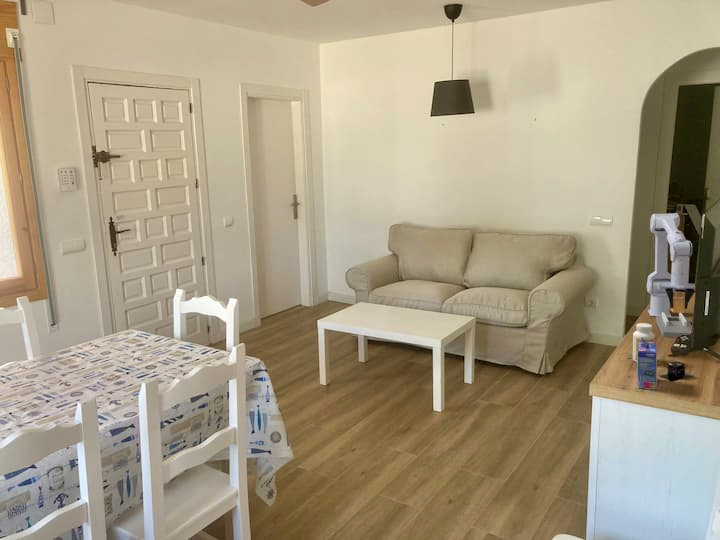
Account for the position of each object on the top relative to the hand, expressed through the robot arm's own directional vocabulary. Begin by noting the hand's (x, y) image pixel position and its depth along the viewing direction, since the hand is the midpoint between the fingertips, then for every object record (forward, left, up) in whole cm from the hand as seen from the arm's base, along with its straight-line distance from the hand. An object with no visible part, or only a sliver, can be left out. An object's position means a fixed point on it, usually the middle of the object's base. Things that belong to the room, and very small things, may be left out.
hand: (678, 307), depth 218 cm
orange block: (-1, 0, -2) cm, 2 cm away
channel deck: (-6, 0, -10) cm, 12 cm away
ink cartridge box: (+53, -16, -11) cm, 56 cm away
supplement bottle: (+33, -15, -11) cm, 38 cm away
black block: (+45, -7, -11) cm, 47 cm away
